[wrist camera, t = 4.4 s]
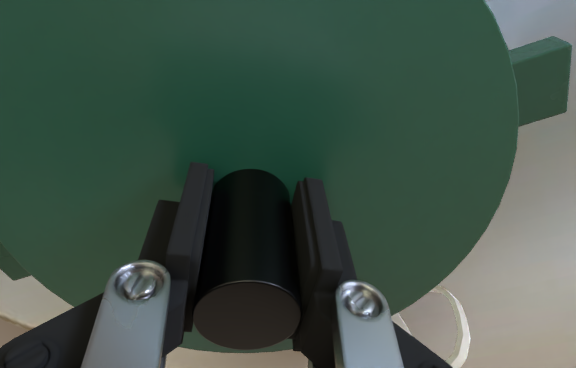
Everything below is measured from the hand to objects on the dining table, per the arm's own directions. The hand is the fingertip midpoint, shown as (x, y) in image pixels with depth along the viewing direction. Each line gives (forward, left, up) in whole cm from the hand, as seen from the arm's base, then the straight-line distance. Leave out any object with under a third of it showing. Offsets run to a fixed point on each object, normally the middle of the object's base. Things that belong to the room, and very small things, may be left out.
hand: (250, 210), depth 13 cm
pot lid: (0, 0, -1) cm, 1 cm away
